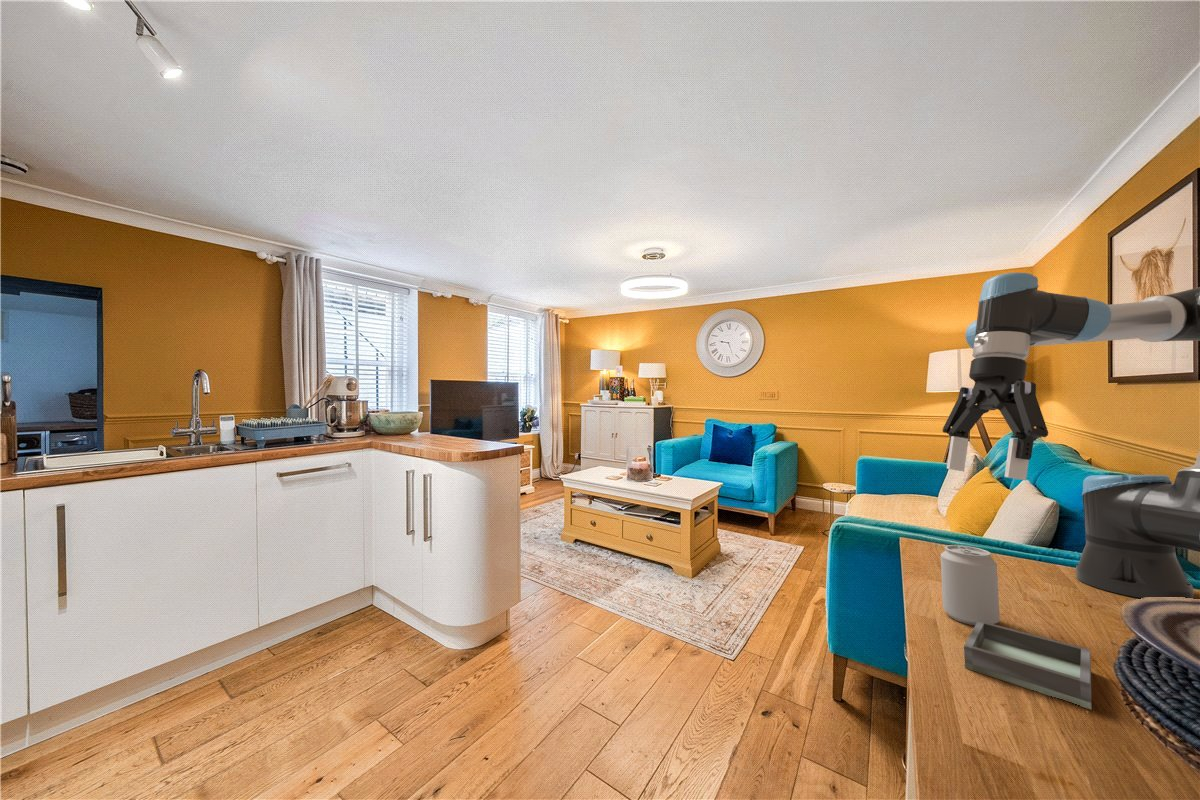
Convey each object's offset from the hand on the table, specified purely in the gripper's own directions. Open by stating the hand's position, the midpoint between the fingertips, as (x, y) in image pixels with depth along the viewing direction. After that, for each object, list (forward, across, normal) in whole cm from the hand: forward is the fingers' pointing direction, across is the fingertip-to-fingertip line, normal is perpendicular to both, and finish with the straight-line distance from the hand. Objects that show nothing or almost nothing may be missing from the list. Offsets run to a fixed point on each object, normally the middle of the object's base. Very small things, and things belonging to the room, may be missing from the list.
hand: (982, 474), depth 77 cm
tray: (+26, +18, -4) cm, 32 cm away
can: (+25, +2, 0) cm, 25 cm away
